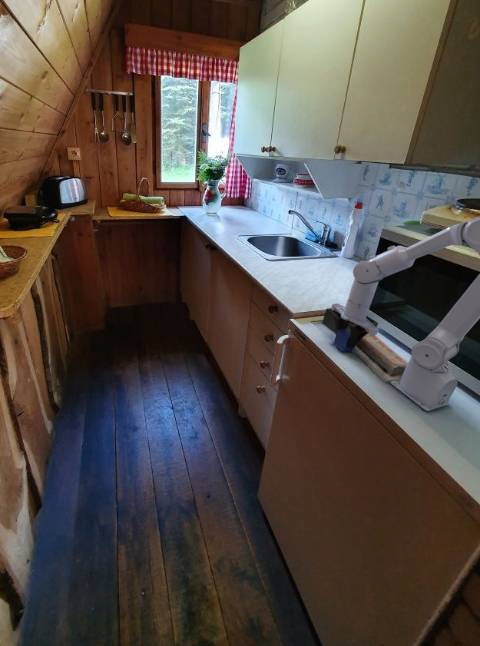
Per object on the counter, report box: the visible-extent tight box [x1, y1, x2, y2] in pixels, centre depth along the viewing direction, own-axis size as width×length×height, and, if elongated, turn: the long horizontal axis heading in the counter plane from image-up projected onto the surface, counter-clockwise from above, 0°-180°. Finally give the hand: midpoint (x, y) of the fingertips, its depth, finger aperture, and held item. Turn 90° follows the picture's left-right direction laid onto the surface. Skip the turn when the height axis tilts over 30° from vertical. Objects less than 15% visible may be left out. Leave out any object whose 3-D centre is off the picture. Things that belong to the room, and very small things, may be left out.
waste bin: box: [322, 307, 379, 334], centre depth 100 cm, size 11×11×6 cm
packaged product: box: [352, 334, 408, 384], centre depth 86 cm, size 18×5×10 cm
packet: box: [333, 328, 355, 353], centre depth 89 cm, size 4×4×5 cm
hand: (344, 342), depth 90 cm, fingers closed on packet, 4 cm apart
